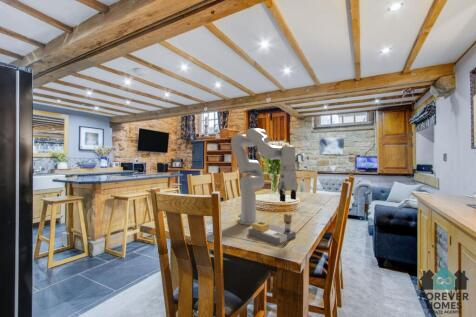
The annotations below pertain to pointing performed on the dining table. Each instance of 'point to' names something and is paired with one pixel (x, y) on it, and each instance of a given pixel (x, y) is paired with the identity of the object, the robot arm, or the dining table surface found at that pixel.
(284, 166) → the robot arm
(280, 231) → the subfloor board
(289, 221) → the awl
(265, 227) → the block
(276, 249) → the dining table surface
